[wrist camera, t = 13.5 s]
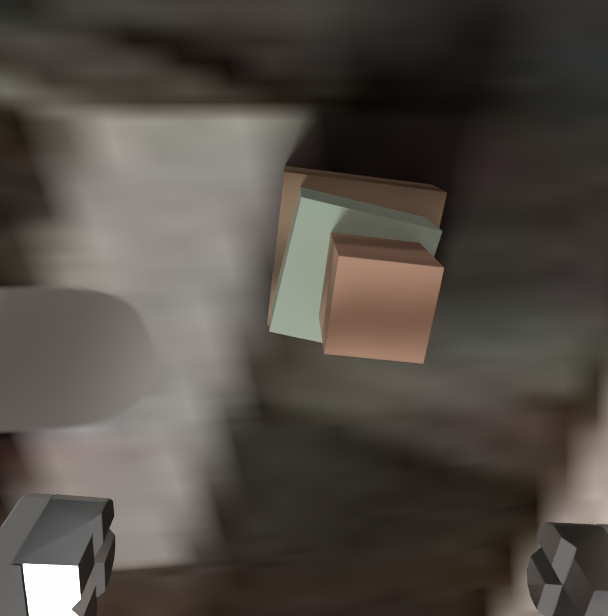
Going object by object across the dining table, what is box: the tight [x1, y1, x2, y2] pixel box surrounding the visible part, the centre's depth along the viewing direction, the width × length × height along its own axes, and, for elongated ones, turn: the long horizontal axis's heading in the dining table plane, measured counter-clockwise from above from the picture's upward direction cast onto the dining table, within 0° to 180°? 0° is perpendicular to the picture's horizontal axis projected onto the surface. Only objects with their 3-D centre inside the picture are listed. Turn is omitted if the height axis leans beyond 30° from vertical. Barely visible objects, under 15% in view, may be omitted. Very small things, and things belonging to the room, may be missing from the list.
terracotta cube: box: [319, 233, 444, 363], centre depth 28 cm, size 5×5×5 cm
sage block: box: [269, 187, 442, 343], centre depth 33 cm, size 8×8×4 cm
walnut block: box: [267, 166, 447, 326], centre depth 36 cm, size 10×10×4 cm
